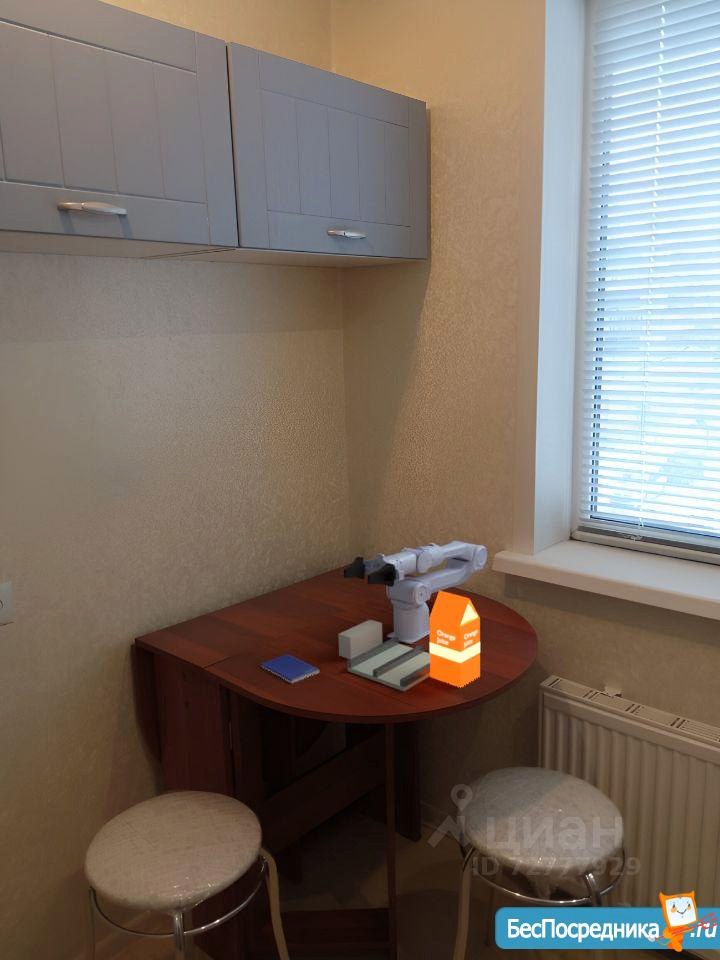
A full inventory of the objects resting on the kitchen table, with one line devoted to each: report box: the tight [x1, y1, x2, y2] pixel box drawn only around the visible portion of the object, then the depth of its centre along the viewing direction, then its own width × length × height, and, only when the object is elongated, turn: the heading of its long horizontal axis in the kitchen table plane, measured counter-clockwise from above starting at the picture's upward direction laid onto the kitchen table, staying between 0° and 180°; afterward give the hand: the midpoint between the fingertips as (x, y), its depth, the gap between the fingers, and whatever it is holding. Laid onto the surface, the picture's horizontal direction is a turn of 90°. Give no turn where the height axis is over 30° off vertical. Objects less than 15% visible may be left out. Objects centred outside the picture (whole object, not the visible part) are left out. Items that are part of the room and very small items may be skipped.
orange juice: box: [429, 590, 481, 689], centre depth 173 cm, size 8×9×20 cm
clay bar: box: [337, 619, 383, 660], centre depth 191 cm, size 12×4×6 cm, turn 138°
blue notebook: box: [261, 653, 320, 684], centre depth 181 cm, size 2×8×12 cm
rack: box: [346, 637, 430, 692], centre depth 181 cm, size 18×17×2 cm
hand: (356, 576), depth 181 cm, fingers open, 7 cm apart
